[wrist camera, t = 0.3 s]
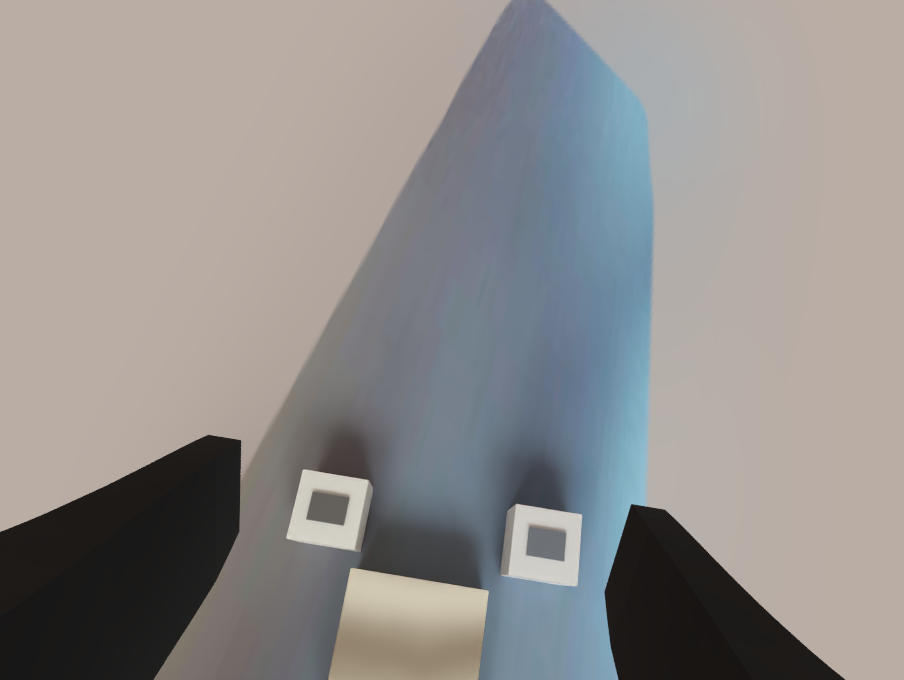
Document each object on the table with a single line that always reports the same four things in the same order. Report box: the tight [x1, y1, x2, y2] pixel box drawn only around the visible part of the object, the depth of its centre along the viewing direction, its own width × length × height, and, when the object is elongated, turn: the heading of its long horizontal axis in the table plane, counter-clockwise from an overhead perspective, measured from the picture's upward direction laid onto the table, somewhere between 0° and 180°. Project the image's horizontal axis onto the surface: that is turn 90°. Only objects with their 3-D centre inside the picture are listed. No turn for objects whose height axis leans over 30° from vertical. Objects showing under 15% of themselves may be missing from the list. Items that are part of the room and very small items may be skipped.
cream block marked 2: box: [286, 469, 373, 552], centre depth 36 cm, size 4×4×4 cm
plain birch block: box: [328, 568, 489, 680], centre depth 34 cm, size 8×8×4 cm
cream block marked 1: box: [500, 504, 582, 586], centre depth 36 cm, size 4×4×4 cm
